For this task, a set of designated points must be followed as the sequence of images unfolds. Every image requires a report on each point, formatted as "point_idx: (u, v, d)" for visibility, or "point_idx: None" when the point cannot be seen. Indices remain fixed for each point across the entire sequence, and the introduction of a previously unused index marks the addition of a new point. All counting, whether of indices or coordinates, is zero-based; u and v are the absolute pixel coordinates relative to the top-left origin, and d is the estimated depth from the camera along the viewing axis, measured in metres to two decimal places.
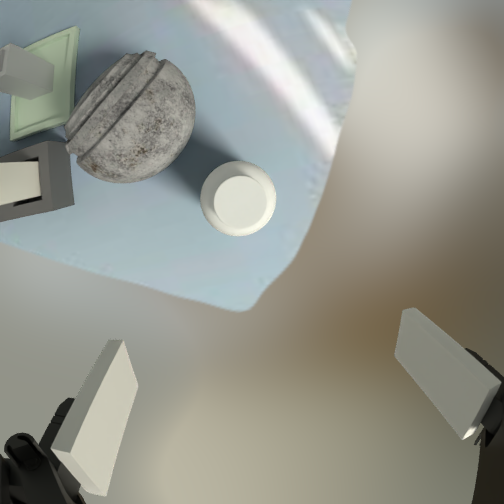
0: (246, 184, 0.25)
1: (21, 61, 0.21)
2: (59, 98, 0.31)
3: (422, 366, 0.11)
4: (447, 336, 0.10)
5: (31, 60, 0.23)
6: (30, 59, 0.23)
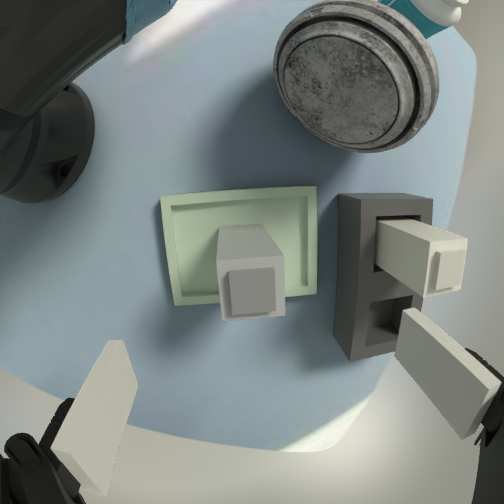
0: None
1: (242, 246, 0.23)
2: (276, 209, 0.31)
3: (422, 366, 0.11)
4: (447, 336, 0.10)
5: (231, 240, 0.25)
6: (230, 241, 0.24)
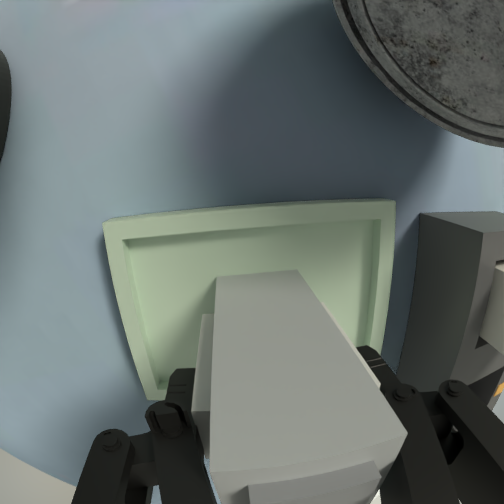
0: None
1: (278, 378, 0.08)
2: (323, 243, 0.16)
3: None
4: (341, 331, 0.12)
5: (245, 337, 0.10)
6: (242, 342, 0.10)
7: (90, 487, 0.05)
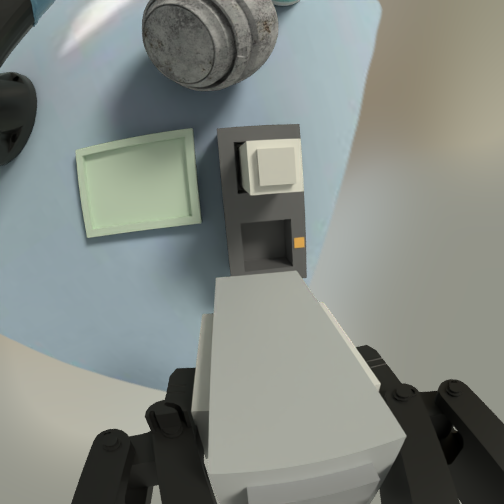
0: None
1: (277, 379, 0.08)
2: (161, 151, 0.35)
3: None
4: (341, 331, 0.12)
5: (244, 339, 0.10)
6: (241, 344, 0.10)
7: (90, 487, 0.05)
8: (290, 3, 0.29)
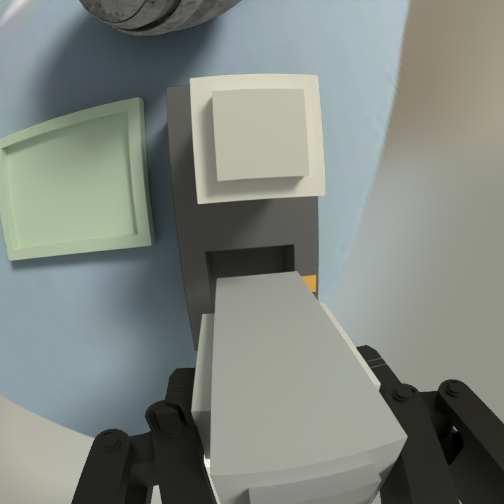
0: None
1: (278, 381, 0.08)
2: (96, 135, 0.21)
3: None
4: (341, 331, 0.12)
5: (245, 340, 0.10)
6: (242, 345, 0.10)
7: (90, 487, 0.05)
8: None
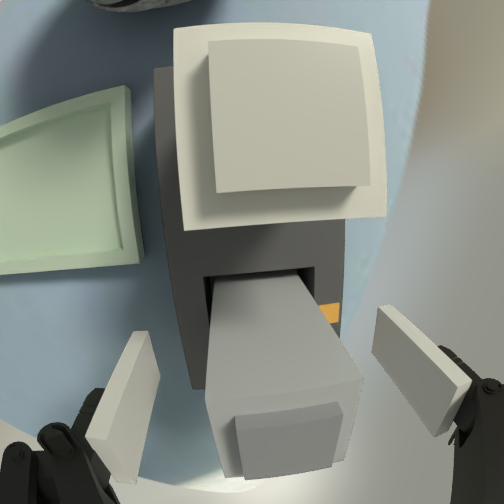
0: None
1: (262, 336, 0.10)
2: (76, 132, 0.17)
3: (396, 362, 0.11)
4: (420, 333, 0.10)
5: (238, 308, 0.13)
6: (235, 312, 0.12)
7: (6, 496, 0.03)
8: None
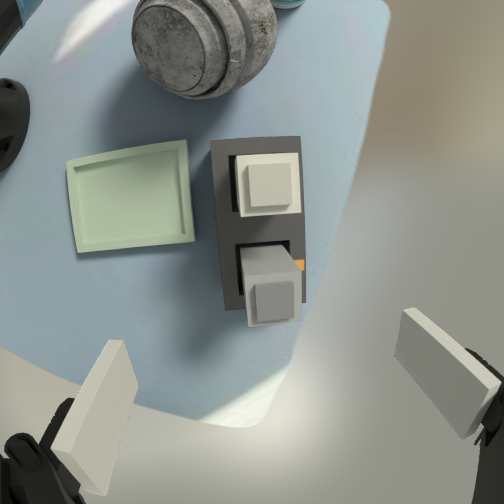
0: None
1: (264, 262, 0.26)
2: (154, 164, 0.33)
3: (422, 366, 0.11)
4: (447, 336, 0.10)
5: (253, 255, 0.28)
6: (252, 256, 0.28)
7: None
8: (293, 6, 0.28)
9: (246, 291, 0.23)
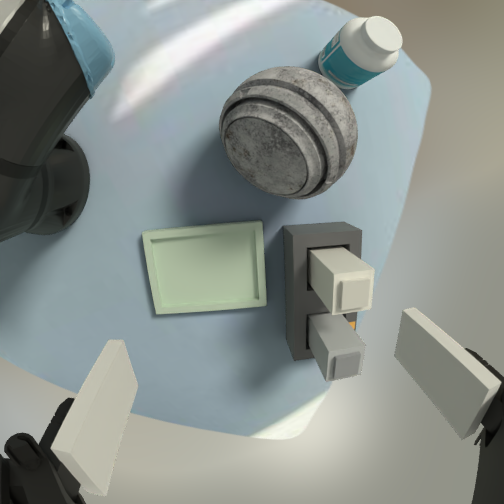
0: (371, 25, 0.22)
1: (336, 335, 0.33)
2: (231, 240, 0.40)
3: (422, 366, 0.11)
4: (447, 336, 0.10)
5: (324, 326, 0.36)
6: (323, 327, 0.35)
7: None
8: (353, 87, 0.35)
9: (328, 360, 0.31)
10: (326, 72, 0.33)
